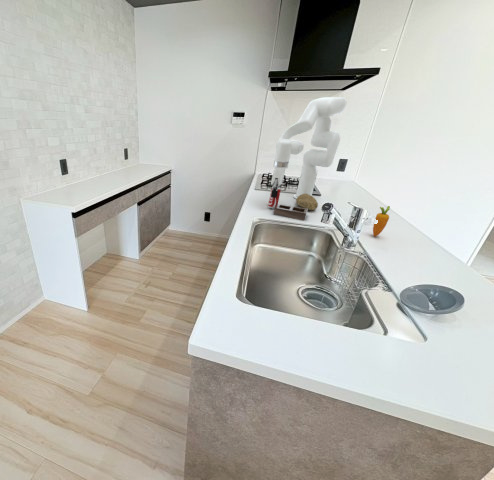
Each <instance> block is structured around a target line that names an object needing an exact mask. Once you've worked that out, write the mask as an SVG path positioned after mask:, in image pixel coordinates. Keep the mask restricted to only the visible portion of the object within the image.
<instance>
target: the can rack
mask: <svg viewBox="0 0 494 480" xmlns="http://www.w3.org/2000/svg"><path fill="white" fill-rule="evenodd" d="M308 211H309V210H308V209H306V208H303V207H301V206H295V205H288V204H281V203H278V205H277V206H276V207H275V208H274V210H273V215H274V216H278V217H285V218H290V219H295V220H300V221H306V218H307V215H308Z"/></svg>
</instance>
